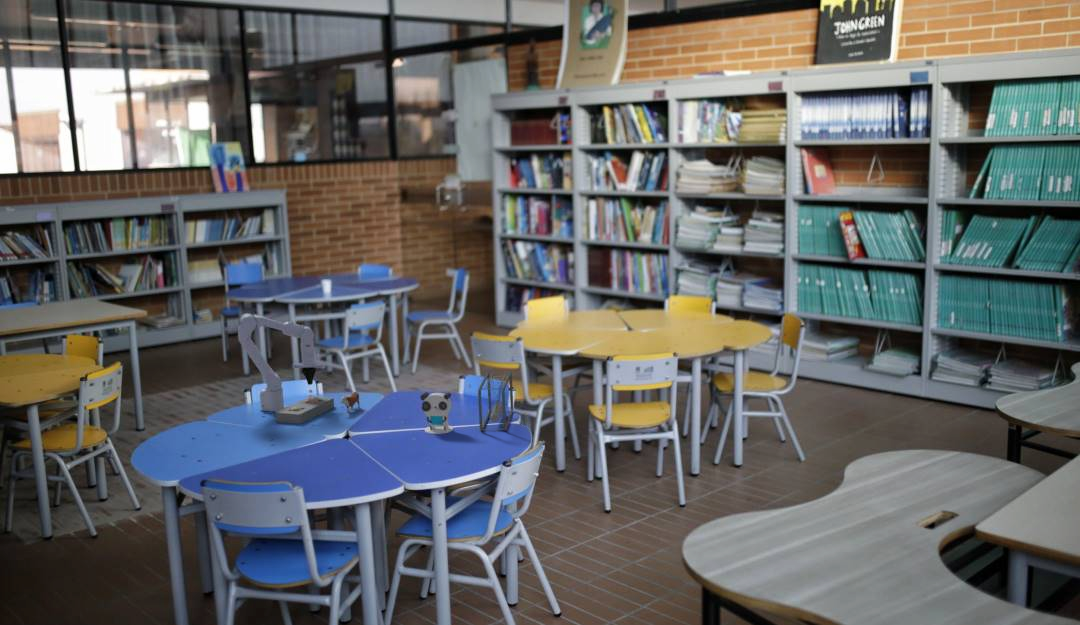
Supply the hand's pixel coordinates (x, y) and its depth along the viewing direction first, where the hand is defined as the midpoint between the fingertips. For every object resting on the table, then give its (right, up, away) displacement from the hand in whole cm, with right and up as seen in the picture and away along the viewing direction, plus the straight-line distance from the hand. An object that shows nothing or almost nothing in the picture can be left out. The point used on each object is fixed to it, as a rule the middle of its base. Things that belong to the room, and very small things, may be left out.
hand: (310, 384), depth 425 cm
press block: (+1, -12, -13) cm, 18 cm away
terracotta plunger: (+3, -9, -8) cm, 12 cm away
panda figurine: (+61, -15, -42) cm, 76 cm away
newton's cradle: (+84, -13, -33) cm, 92 cm away
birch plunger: (-1, -12, -19) cm, 23 cm away
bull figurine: (+20, -11, -11) cm, 25 cm away
